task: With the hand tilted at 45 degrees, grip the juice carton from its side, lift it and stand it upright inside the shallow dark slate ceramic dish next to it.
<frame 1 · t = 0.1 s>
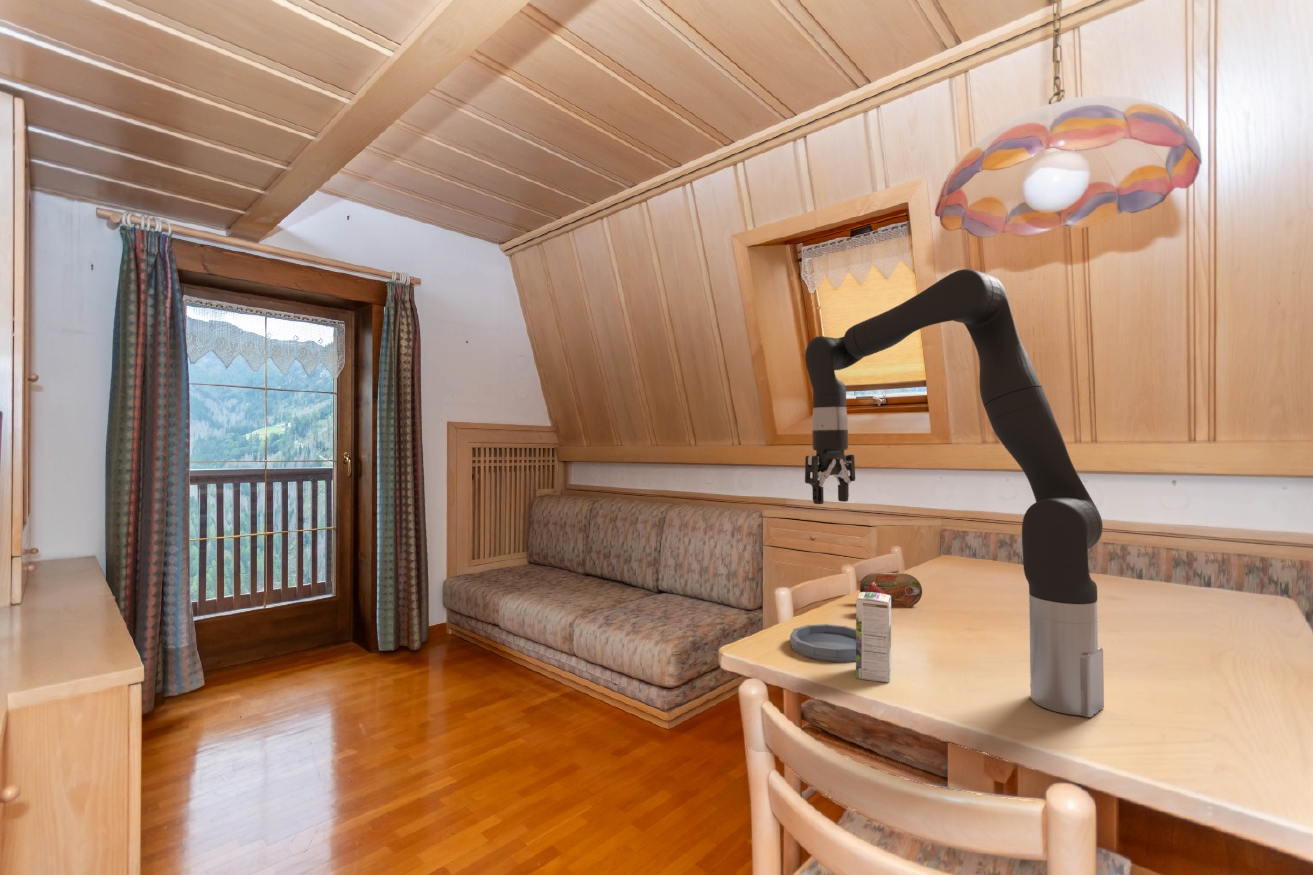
hand: (831, 502, 136), 29 cm above the table, tool pointing down, fingers open, 8 cm apart
onion: (874, 616, 150), on the table
dish: (831, 648, 128), on the table
tin: (890, 606, 159), on the table
juice carton: (874, 676, 113), on the table
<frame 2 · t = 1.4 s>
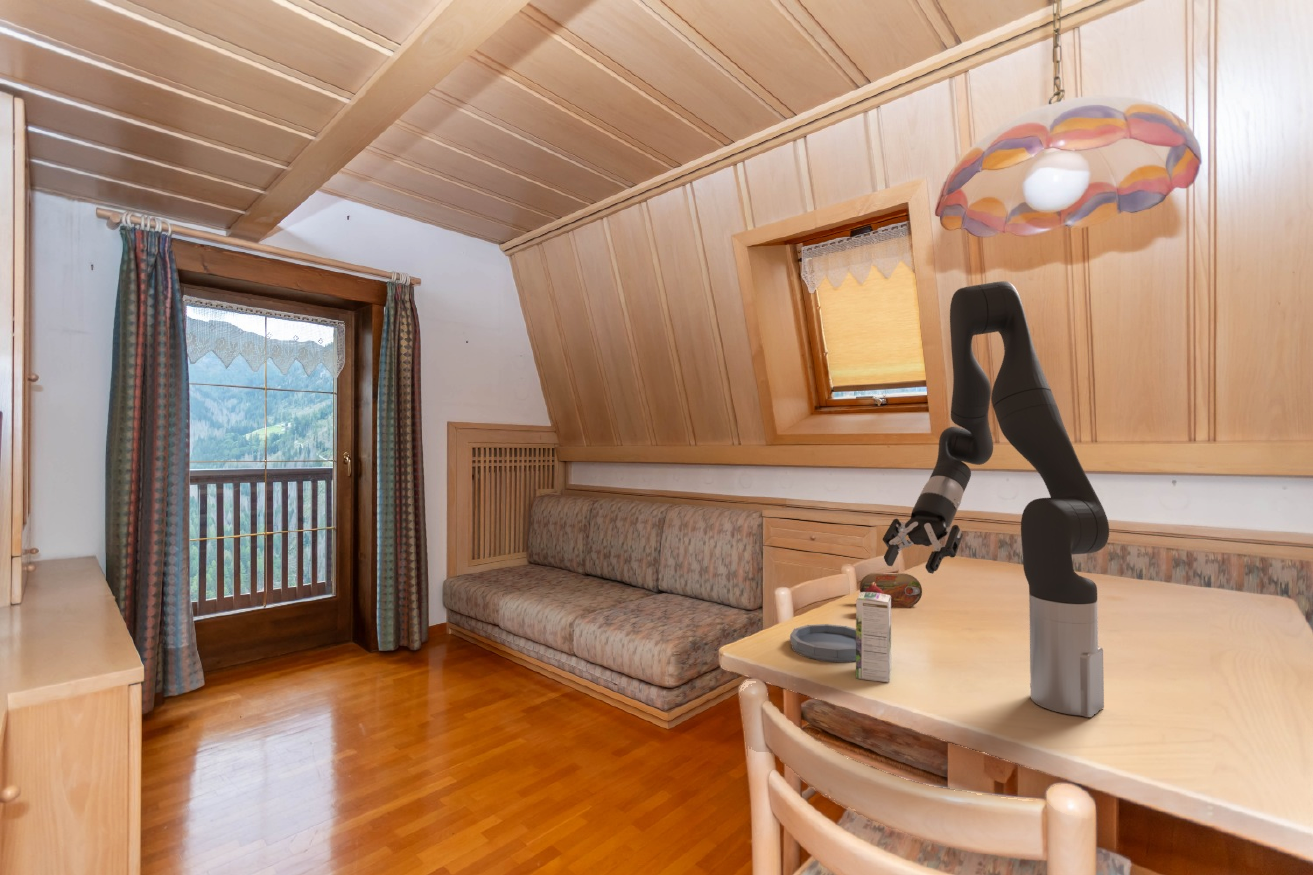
hand: (907, 567, 120), 18 cm above the table, tool tilted 45°, fingers open, 8 cm apart
nothing on the table moved.
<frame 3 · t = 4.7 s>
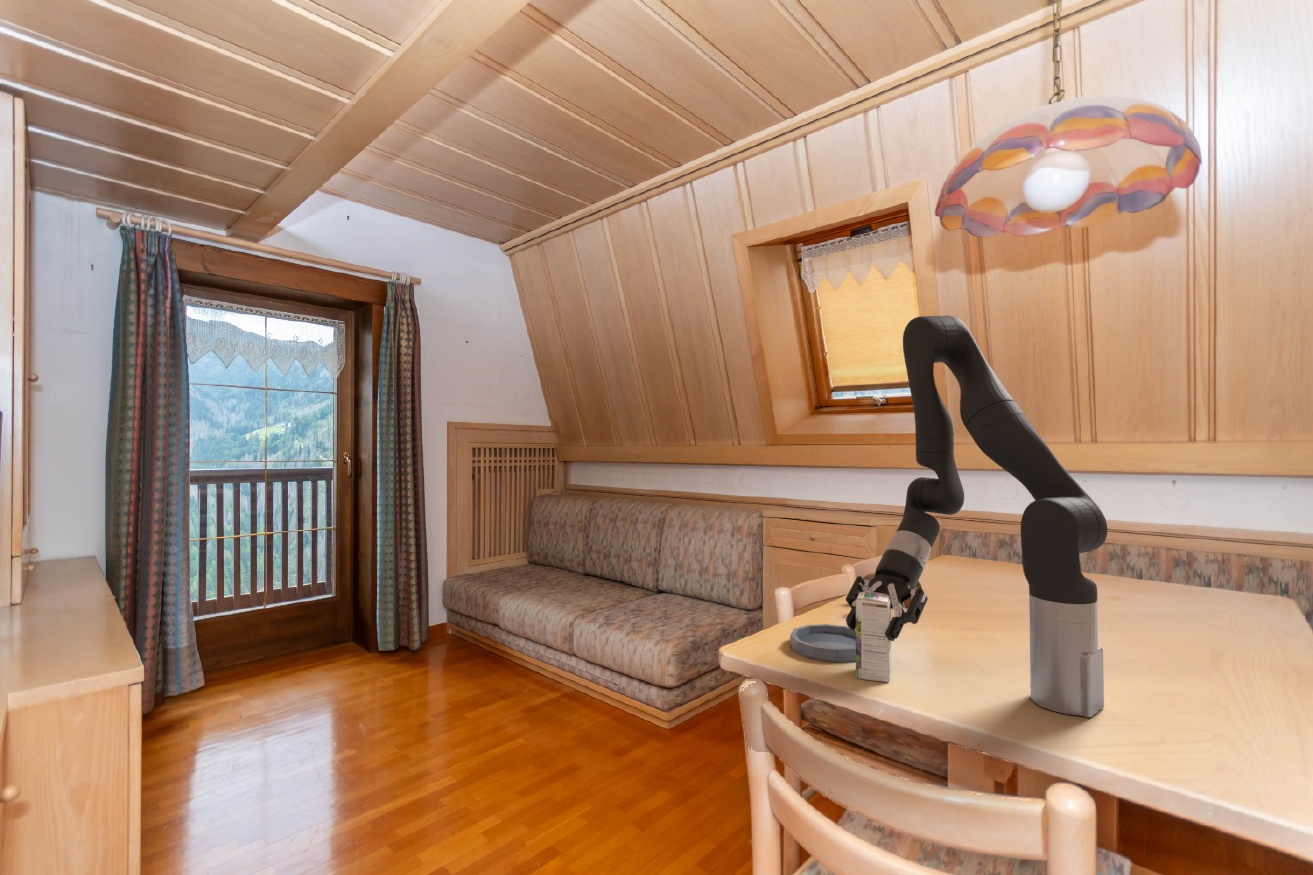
hand: (869, 632, 112), 8 cm above the table, tool tilted 45°, fingers closed on juice carton, 7 cm apart
juice carton: (874, 676, 113), on the table, touching gripper
everything else where it was.
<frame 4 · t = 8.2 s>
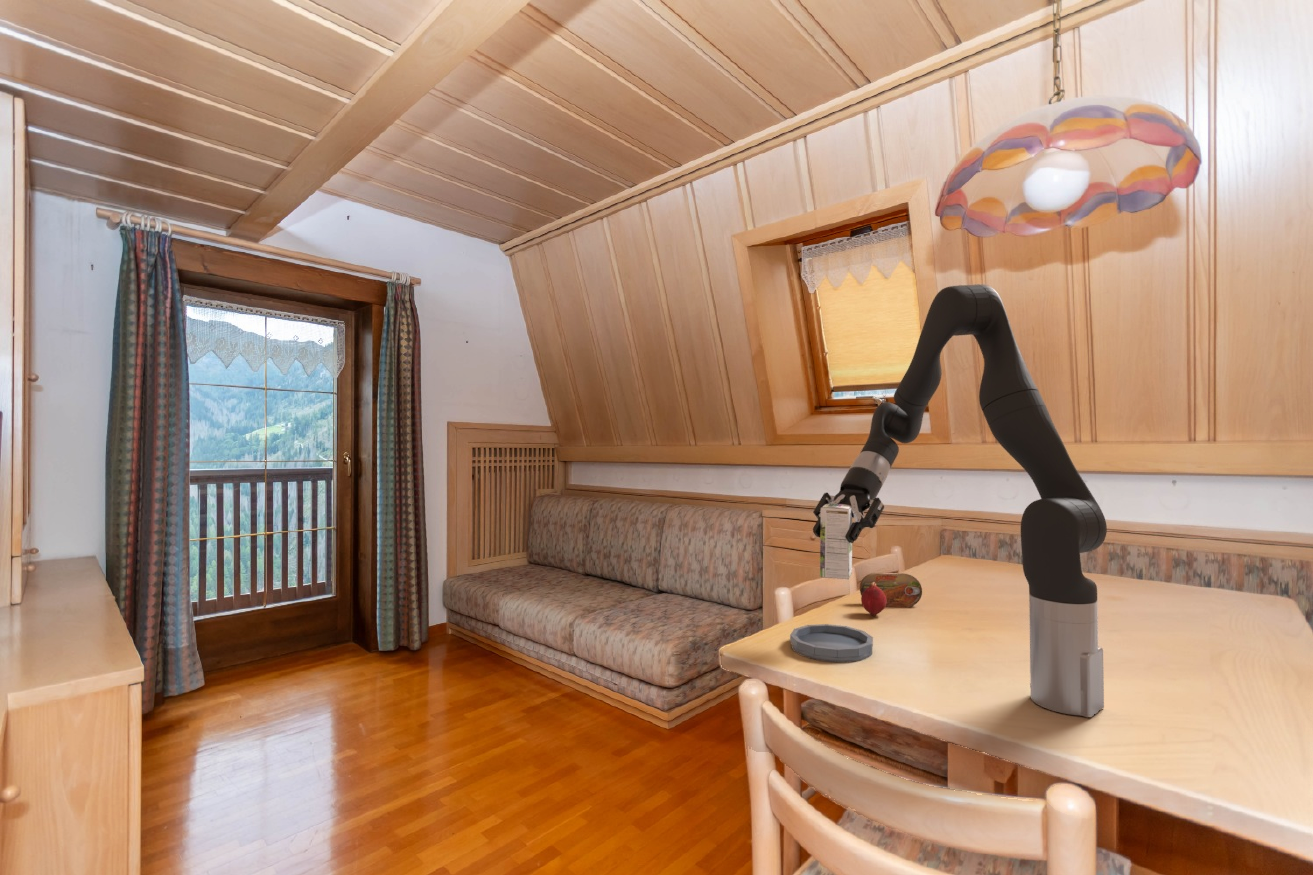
hand: (832, 537, 126), 23 cm above the table, tool tilted 45°, fingers closed on juice carton, 7 cm apart
juice carton: (836, 576, 127), point 15 cm above the table, touching gripper
everything else where it was.
when the fingers open (10 cm above the table, at t = 11.4 s): juice carton drops 1 cm, resting on dish.
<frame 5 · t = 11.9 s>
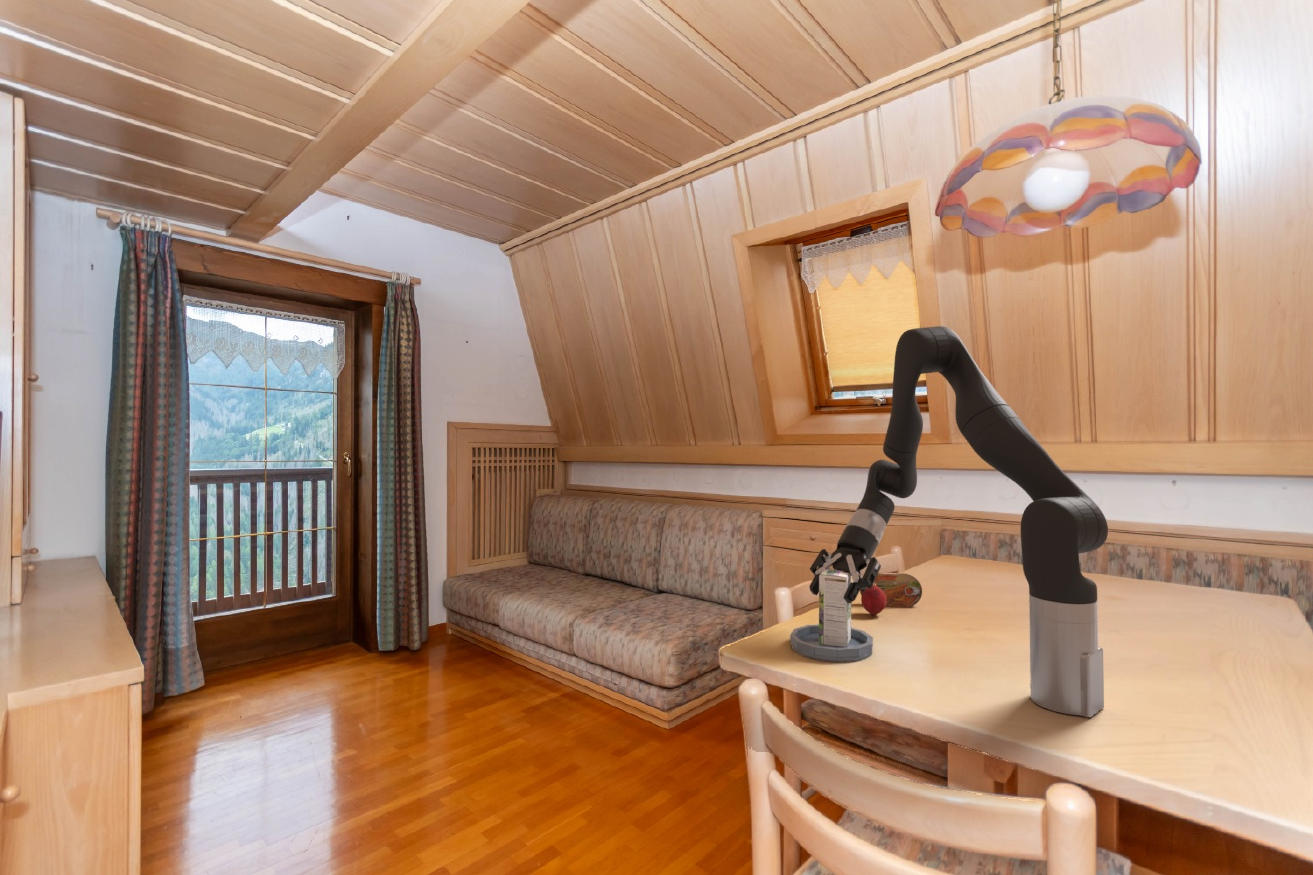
hand: (829, 596, 127), 11 cm above the table, tool tilted 45°, fingers open, 8 cm apart
juice carton: (835, 643, 128), point 1 cm above the table, touching dish
everything else where it was.
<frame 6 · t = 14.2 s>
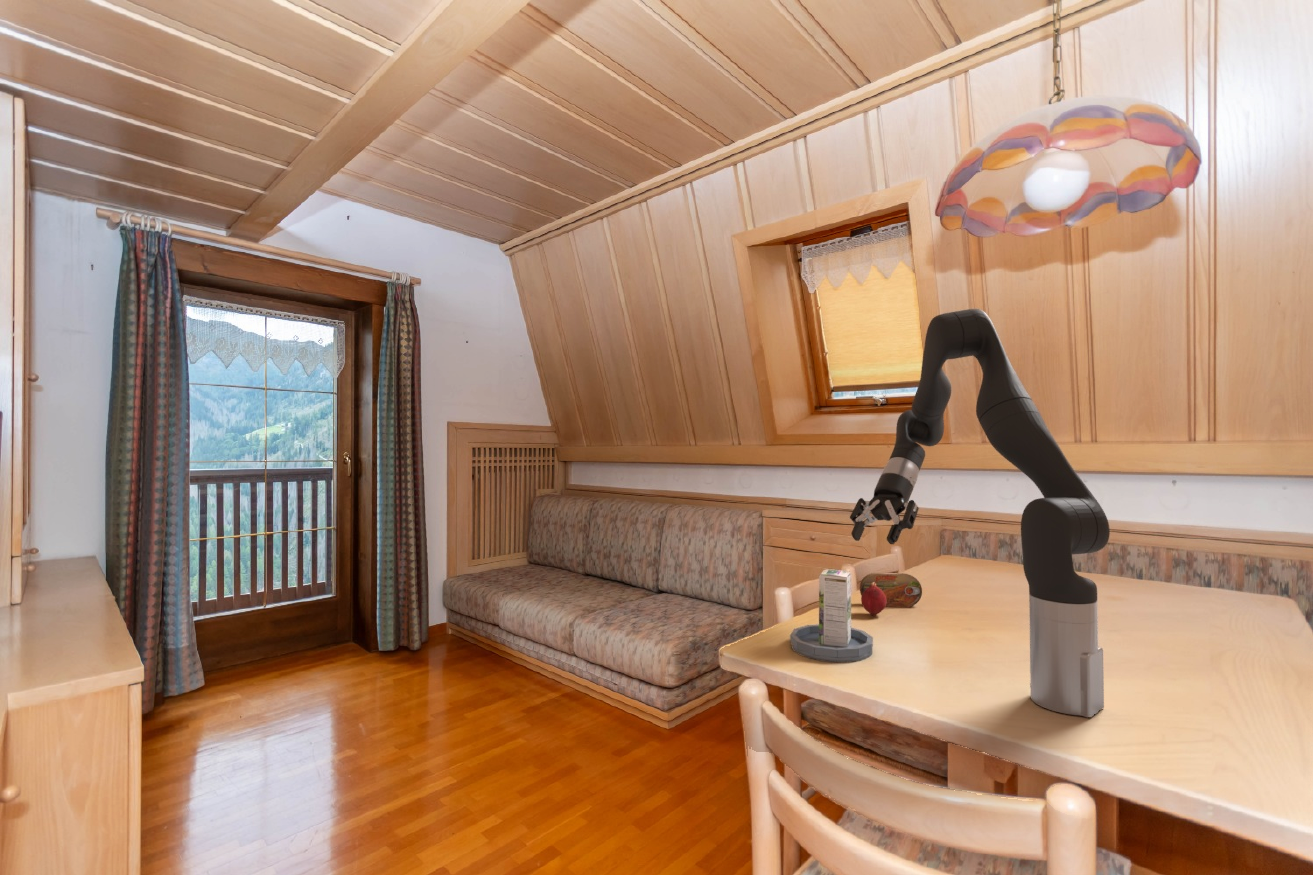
hand: (872, 540, 135), 21 cm above the table, tool tilted 40°, fingers open, 8 cm apart
nothing on the table moved.
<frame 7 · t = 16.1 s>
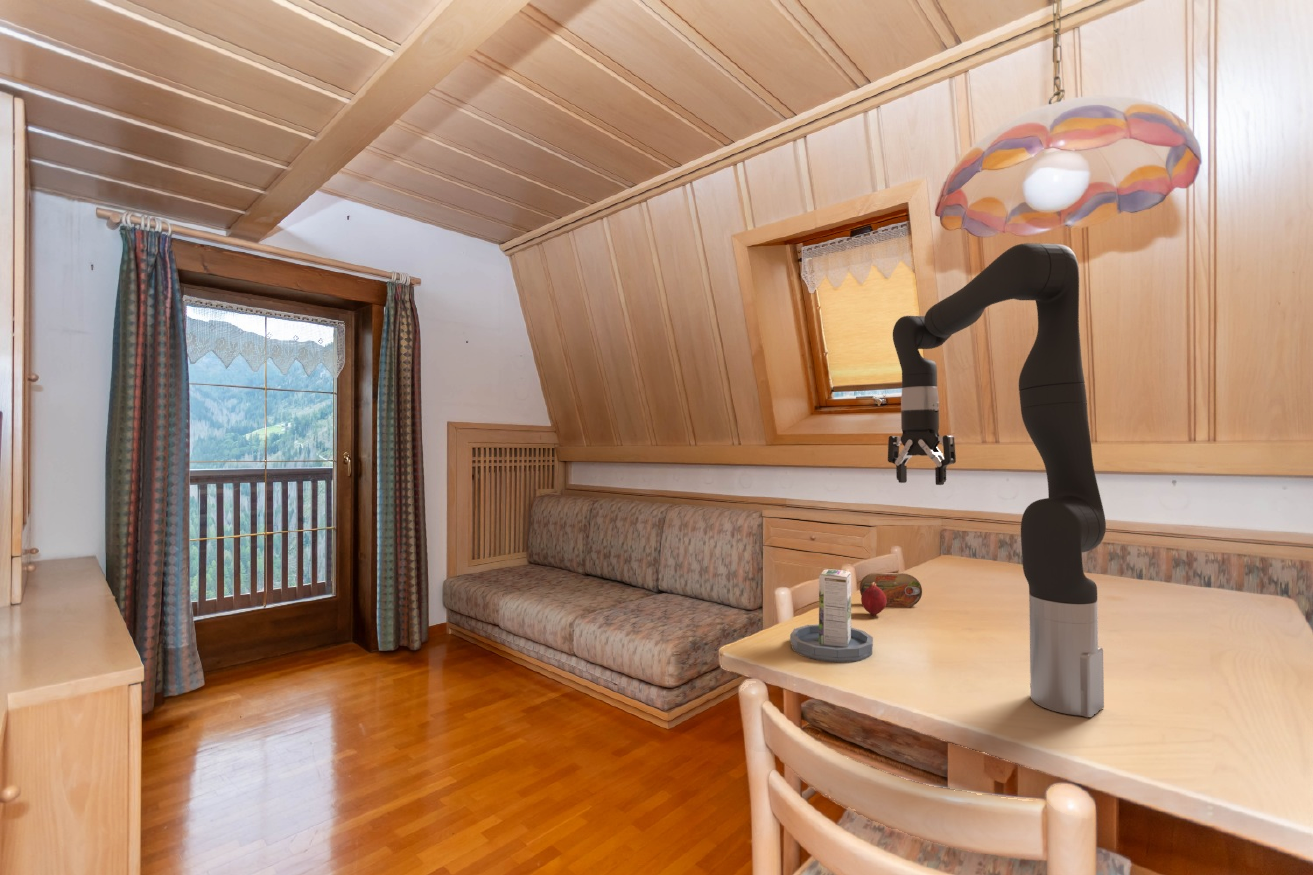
hand: (920, 483, 134), 33 cm above the table, tool pointing down, fingers open, 8 cm apart
nothing on the table moved.
at the end: juice carton inside the target area on the dish (1.2 cm from its centre), point 0.8 cm above the dish's base; juice carton tilted 0°; the gripper is holding nothing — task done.
